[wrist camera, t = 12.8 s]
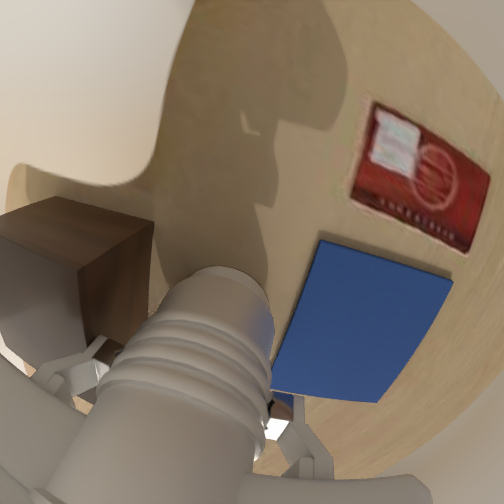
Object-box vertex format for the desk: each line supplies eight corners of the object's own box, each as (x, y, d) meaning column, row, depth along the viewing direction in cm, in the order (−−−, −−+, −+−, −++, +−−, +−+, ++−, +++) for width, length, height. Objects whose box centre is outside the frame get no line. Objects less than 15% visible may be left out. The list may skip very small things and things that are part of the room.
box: (53, 193, 16) (-26, 221, 9) (157, 219, 15) (77, 271, 8) (59, 299, 19) (5, 346, 12) (149, 338, 19) (103, 410, 12)
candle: (152, 288, 17) (7, 474, 3) (238, 237, 15) (86, 546, 1) (210, 360, 19) (144, 551, 5) (296, 327, 17) (287, 579, 3)
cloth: (320, 239, 15) (320, 241, 14) (451, 279, 14) (453, 282, 14) (264, 383, 19) (264, 387, 19) (375, 399, 19) (376, 402, 19)
